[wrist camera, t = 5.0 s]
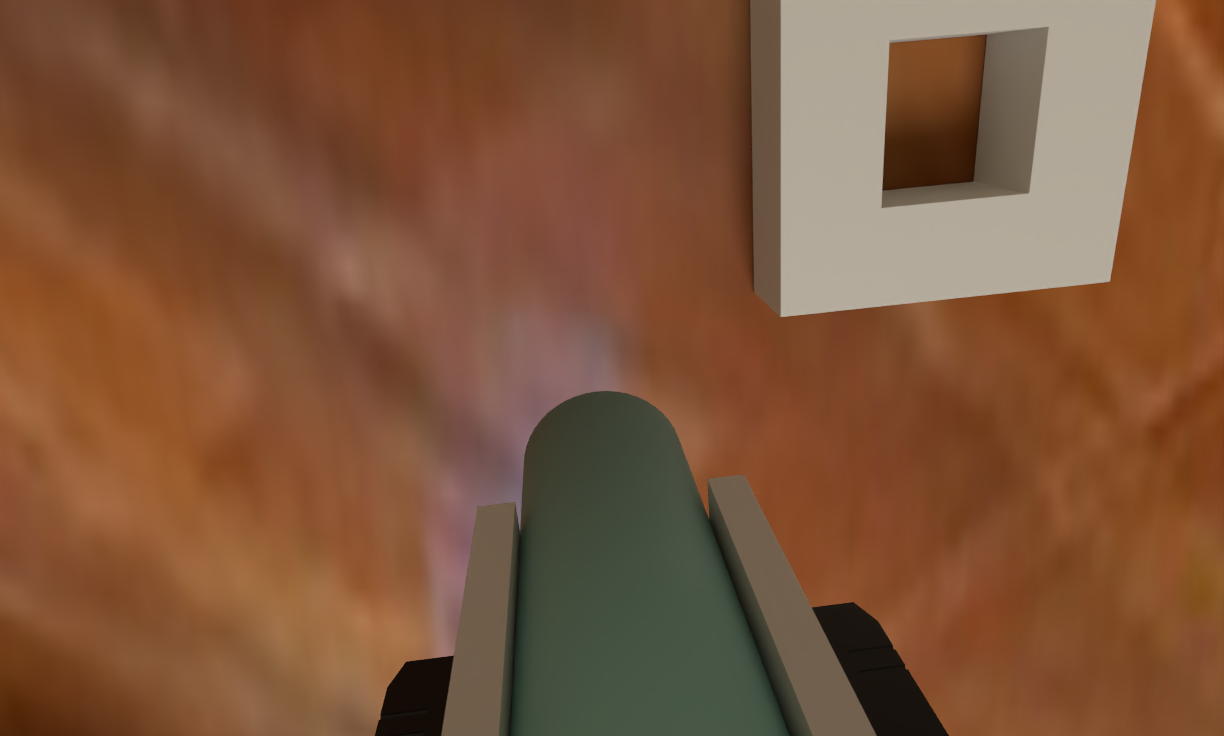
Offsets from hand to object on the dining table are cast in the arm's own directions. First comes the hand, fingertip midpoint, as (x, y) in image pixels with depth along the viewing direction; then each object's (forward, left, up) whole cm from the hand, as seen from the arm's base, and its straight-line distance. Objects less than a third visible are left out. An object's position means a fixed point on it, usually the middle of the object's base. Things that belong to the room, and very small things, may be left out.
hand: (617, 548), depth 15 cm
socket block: (+15, +7, -19) cm, 25 cm away
